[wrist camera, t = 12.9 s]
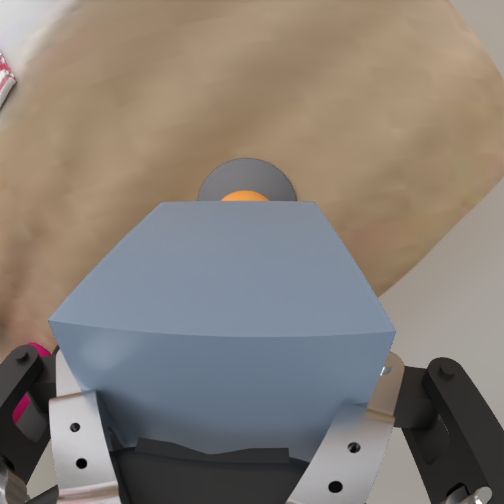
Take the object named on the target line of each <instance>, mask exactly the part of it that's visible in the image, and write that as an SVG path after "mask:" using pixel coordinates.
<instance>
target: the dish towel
mask: <svg viewBox="0 0 504 504" xmlns="http://www.w3.org/2000/svg"><path fill="white" fill-rule="evenodd" d="M15 83H16V80H15V77H14V75H13V73H12V72H11V70H10V68H9V67H8V65H7V64H6V61H5V59H4V57H3V56H2V53H1V51H0V107H1V105H2V104H3V102H4V100H5V98H6V96H7V95H8V93H9V91H10V90H11V88H12V87H13V85H14V84H15Z"/></svg>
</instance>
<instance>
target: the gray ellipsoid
mask: <svg viewBox="0 0 504 504" xmlns="http://www.w3.org/2000/svg"><path fill="white" fill-rule="evenodd" d="M244 190H246V191H254V192H257V193H259V194H261V195H263V196H264V197H266V198H267V199H268V200H269V201H296V196H295V193H294V190H293V187H292V185H291V183H290V182H289V180H288V179H287V177H286V176H285V175H284V174H283V173H282V172H281V171H280V170H279V169H277V168H276V167H274V166H273V165H271V164H269V163H267V162H264V161H261V160H257V159H249V158H244V159H237V160H232V161H229V162H227V163H225V164H223V165H221V166H219V167H218V168H216V169H215V170H214V171H213V172H212V173H211V174H210V175H209V176H208V177H207V179H206V180H205V182H204V183H203V185H202V187H201V189H200V193H199V196H198V201H221V200H222V199H223V198H224V197H226V196H227V195H229V194H231V193H233V192H236V191H244Z"/></svg>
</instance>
